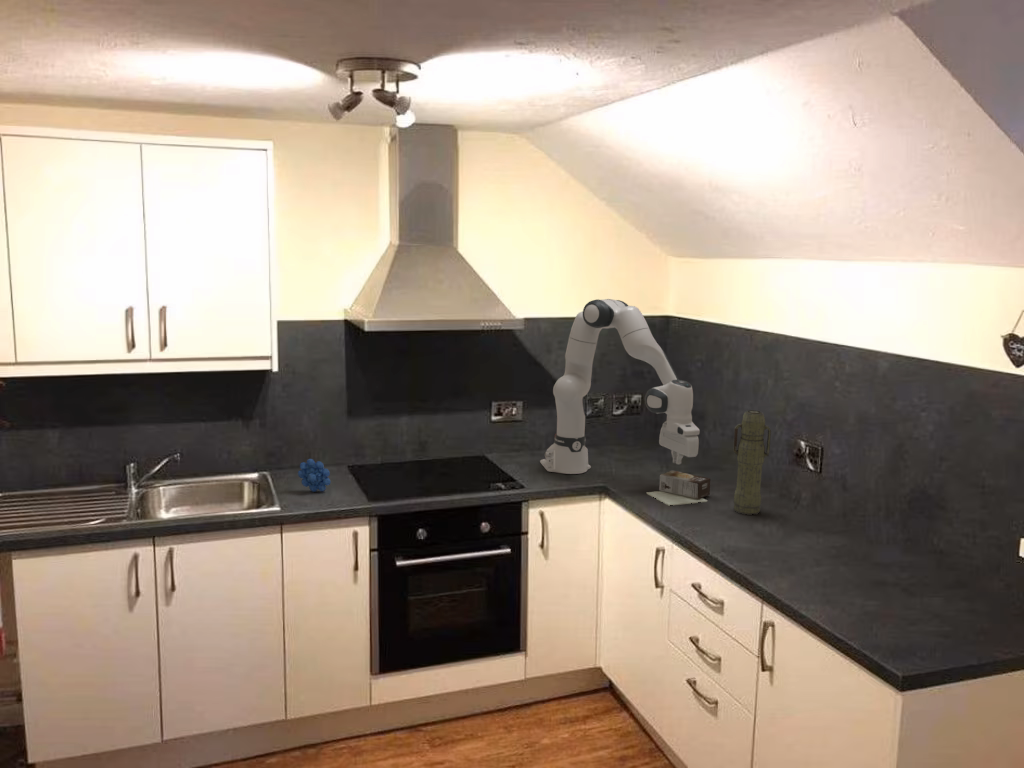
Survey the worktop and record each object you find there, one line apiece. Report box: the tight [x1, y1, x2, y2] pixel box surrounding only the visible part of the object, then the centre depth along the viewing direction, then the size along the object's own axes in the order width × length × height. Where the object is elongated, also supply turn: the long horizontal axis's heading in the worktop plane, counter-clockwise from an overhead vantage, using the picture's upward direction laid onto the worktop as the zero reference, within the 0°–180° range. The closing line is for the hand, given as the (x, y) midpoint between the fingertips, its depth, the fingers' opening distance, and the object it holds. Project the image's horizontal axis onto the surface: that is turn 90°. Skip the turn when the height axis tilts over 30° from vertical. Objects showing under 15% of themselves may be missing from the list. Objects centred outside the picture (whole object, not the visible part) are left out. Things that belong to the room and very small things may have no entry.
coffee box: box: [658, 470, 711, 499], centre depth 315 cm, size 9×6×16 cm
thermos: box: [732, 409, 772, 516], centre depth 295 cm, size 9×12×35 cm
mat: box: [646, 490, 708, 507], centre depth 311 cm, size 15×16×1 cm
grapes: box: [297, 458, 331, 493], centre depth 304 cm, size 12×7×12 cm, turn 89°
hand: (676, 463), depth 310 cm, fingers closed
